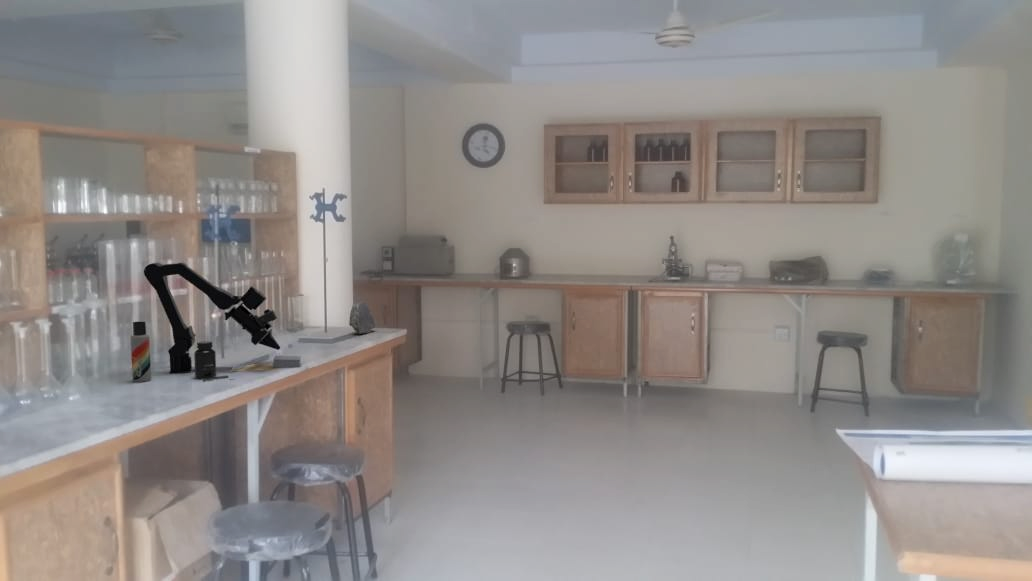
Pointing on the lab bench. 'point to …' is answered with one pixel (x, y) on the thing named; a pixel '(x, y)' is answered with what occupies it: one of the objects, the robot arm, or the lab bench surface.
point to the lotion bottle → (140, 353)
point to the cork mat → (256, 367)
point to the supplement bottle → (205, 360)
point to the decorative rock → (361, 318)
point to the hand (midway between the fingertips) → (279, 348)
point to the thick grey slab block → (286, 361)
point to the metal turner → (214, 378)
